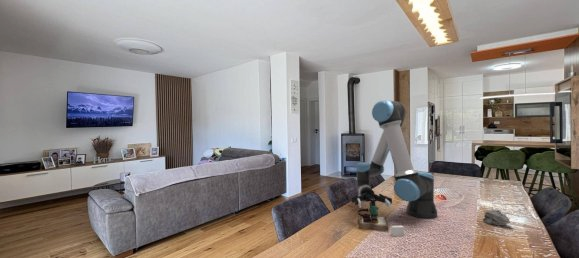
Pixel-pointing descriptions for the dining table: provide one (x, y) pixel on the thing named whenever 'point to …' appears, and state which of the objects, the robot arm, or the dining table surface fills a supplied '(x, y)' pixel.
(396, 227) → the price sign
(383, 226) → the plinth
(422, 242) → the dining table surface
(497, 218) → the mineral specimen
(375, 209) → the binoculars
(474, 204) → the dining table surface
